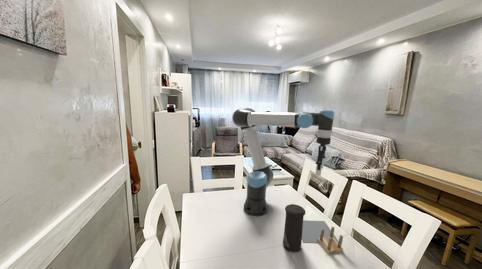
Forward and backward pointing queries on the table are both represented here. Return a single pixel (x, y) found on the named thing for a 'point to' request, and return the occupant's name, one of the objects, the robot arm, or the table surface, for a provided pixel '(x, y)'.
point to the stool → (330, 242)
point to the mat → (314, 231)
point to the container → (293, 227)
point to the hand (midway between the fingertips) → (319, 171)
